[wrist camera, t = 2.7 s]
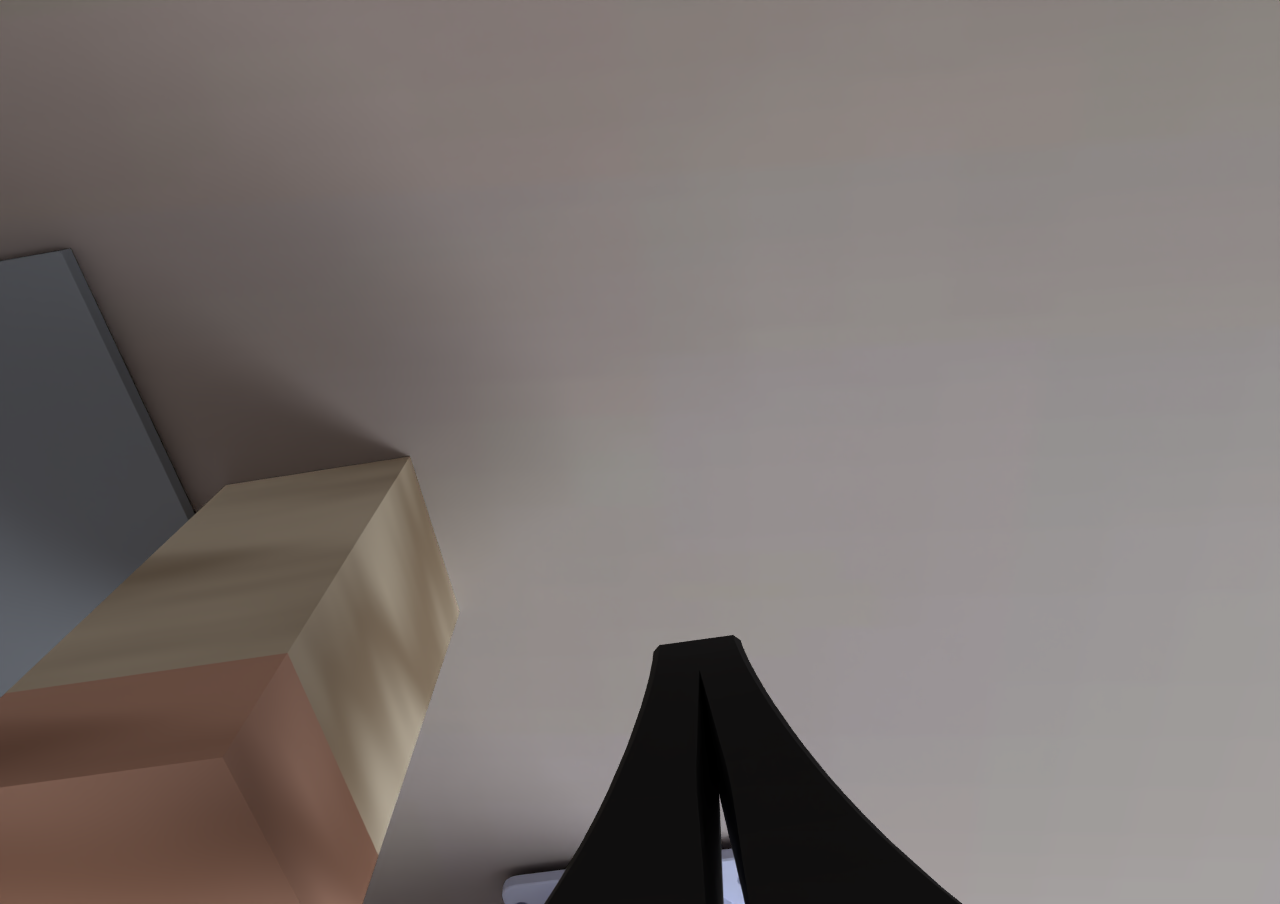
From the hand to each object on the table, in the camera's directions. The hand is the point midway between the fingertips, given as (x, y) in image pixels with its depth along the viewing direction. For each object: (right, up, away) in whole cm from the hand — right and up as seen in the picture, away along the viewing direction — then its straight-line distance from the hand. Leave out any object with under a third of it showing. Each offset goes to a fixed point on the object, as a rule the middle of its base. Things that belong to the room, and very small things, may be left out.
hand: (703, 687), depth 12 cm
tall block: (-8, +1, +6) cm, 10 cm away
